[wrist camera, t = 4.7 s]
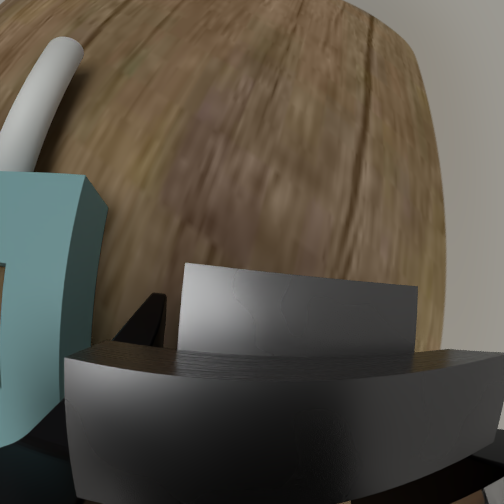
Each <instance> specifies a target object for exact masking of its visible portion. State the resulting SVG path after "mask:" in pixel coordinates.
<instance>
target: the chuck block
mask: <svg viewBox="0 0 504 504" xmlns="http://www.w3.org/2000/svg"><path fill="white" fill-rule="evenodd" d="M83 56H84V50H83V48H82V46H81V45H80V44H79V43H78V42H77V41H76V40H74V39H72V38H68V37H57V38H55V39H53V40H51V41H50V42H49V44H48V45H47V47H46V48H45V50H44V51H43V53H42V54H41V56H40V57H39V59H38V61H37V62H36V64H35V65H34V67H33V69H32V71H31V72H30V74H29V76H28V77H27V79H26V81H25V83H24V85H23V86H22V88H21V90H20V92H19V94H18V96H17V98H16V100H15V102H14V104H13V106H12V108H11V110H10V112H9V114H8V116H7V118H6V121H5V123H4V125H3V127H2V130H1V132H0V266H2V267H6V269H5V276H4V285H3V294H2V307H1V324H0V447H3V446H6V445H9V444H12V443H14V442H16V441H18V440H20V439H21V438H23V437H24V436H25V435H27V434H28V433H29V432H30V431H31V430H32V429H33V428H34V427H35V426H36V425H37V424H38V423H39V422H40V421H41V420H42V419H43V418H44V417H45V416H46V415H47V414H48V413H49V412H50V411H51V410H52V409H53V408H54V407H55V406H56V405H57V404H58V403H59V402H60V401H61V400H62V399H63V398H64V397H65V391H64V357H66V356H69V355H71V354H74V353H76V352H79V351H81V350H83V349H86V348H88V347H91V331H92V317H93V305H94V295H95V286H96V278H97V270H98V263H99V256H100V250H101V244H102V238H103V232H104V227H105V222H106V216H107V211H108V207H107V205H106V204H105V202H104V201H103V200H102V198H101V197H100V195H99V194H98V193H97V191H96V190H95V188H94V187H93V185H92V184H91V183H90V181H89V180H88V178H87V177H86V175H76V174H60V173H41V172H34V168H35V165H36V162H37V159H38V156H39V154H40V151H41V148H42V145H43V142H44V140H45V137H46V135H47V132H48V129H49V127H50V125H51V122H52V120H53V117H54V115H55V113H56V110H57V108H58V106H59V104H60V101H61V99H62V97H63V95H64V93H65V91H66V89H67V87H68V85H69V83H70V81H71V79H72V77H73V75H74V73H75V71H76V69H77V67H78V66H79V64H80V62H81V60H82V58H83Z"/></svg>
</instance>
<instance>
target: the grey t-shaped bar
mask: <svg viewBox="0 0 504 504" xmlns="http://www.w3.org/2000/svg"><path fill="white" fill-rule="evenodd" d="M417 296H418V286H407V285H395V284H384V283H373V282H362V281H351V280H341V279H330V278H320V277H310V276H300V275H291V274H281V273H272V272H262V271H253V270H244V269H235V268H226V267H217V266H209V265H200V264H192V263H185V271H184V280H183V289H182V299H181V310H180V321H179V334H178V347H177V350H176V349H167V348H159V347H151V346H144V345H137V344H130V343H123V342H117V341H111V340H105V341H103V342H101V343H98V344H96V345H93V346H91V347H88V348H86V349H83V350H81V351H79V352H76V353H74V354H71V355H69V356H66V357H64V391H65V412H66V426H67V437H68V446H69V454H70V461H71V468H72V474H73V480H74V485H75V490H76V495H77V497H79V498H82V499H86V500H90V501H94V502H98V503H103V504H337V503H342V502H346V501H350V500H354V499H358V498H362V497H365V496H369V495H373V494H376V493H379V492H382V491H386V490H389V489H392V488H395V487H398V486H401V485H403V484H406V483H409V482H412V481H414V480H417V479H419V478H422V477H424V476H427V475H429V474H431V473H434V472H436V471H438V470H441V469H443V468H445V467H447V466H449V465H452V464H454V463H456V462H458V461H460V460H462V459H464V458H466V457H468V456H470V455H471V454H473V453H475V452H477V451H479V450H481V449H482V448H484V447H486V446H488V445H489V444H491V443H493V442H494V439H495V435H496V431H497V428H498V424H499V420H500V415H501V411H502V406H503V401H504V353H501V352H481V351H467V350H454V349H445V350H435V351H426V352H415V353H414V347H415V335H416V320H417Z"/></svg>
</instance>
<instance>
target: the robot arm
mask: <svg viewBox="0 0 504 504" xmlns="http://www.w3.org/2000/svg"><path fill="white" fill-rule="evenodd" d="M166 302H167V297H166V295H165V294H162V293H152V294H151V295H150V296H149V297H148V298H147V300H146V301H145V302H144V303H143V304H142V305H141V307H140V308H139V309H138V310H137V311H136V312H135V314H134V315H133V316H132V317H131V318H130V319H129V321H128V322H127V323H126V324H125V325H124V326H123V328H122V329H121V330H120V331H119V332H118V334H117V335H116V336H115V337H114V338H113V340H112V341H117V342H123V343H130V344H137V345H144V346H151V347H159V348H163V341H164V332H165V322H166ZM0 504H103V503H98V502H94V501H90V500H86V499H82V498H79V497H77V495H76V490H75V485H74V480H73V474H72V468H71V461H70V454H69V446H68V437H67V426H66V412H65V397H64V398H63V399H62V400H61V401H60V402H59V403H58V404H57V405H56V406H55V407H54V408H53V409H52V410H51V411H50V412H49V413H48V414H47V415H46V416H45V417H44V418H43V419H42V420H41V421H40V422H39V423H38V424H37V425H36V426H35V427H34V428H33V429H32V430H31V431H30V432H29V433H28V434H27V435H25V436H24V437H23V438H21V439H20V440H18V441H16V442H14V443H12V444H9V445H6V446H3V447H0ZM351 504H504V430H501V429H497V431H496V435H495V439H494V442H493V443H491V444H489V445H488V446H486V447H484V448H482V449H481V450H479V451H477V452H475V453H473V454H471V455H470V456H468V457H466V458H464V459H462V460H460V461H458V462H456V463H454V464H452V465H449V466H447V467H445V468H443V469H441V470H438V471H436V472H434V473H431V474H429V475H427V476H424V477H422V478H419V479H417V480H414V481H412V482H409V483H406V484H403V485H401V486H398V487H395V488H392V489H389V490H386V491H382V492H379V493H376V494H373V495H369V496H365V497H362V498H358V499H354V500H351Z"/></svg>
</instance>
